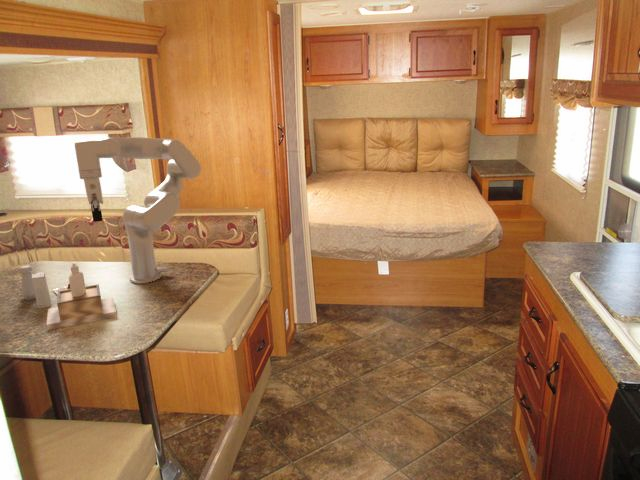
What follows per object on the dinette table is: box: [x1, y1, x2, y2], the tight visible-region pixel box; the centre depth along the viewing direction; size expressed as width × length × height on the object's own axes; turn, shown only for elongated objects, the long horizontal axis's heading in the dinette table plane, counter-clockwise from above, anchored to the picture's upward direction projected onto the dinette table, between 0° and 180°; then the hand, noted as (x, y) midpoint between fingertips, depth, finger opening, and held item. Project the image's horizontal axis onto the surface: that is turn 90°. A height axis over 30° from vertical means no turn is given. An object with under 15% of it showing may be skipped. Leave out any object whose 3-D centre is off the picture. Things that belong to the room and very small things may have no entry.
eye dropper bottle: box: [68, 262, 86, 297], centre depth 181 cm, size 4×6×12 cm
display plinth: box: [46, 283, 118, 331], centre depth 183 cm, size 22×14×9 cm, turn 115°
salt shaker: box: [18, 264, 36, 301], centre depth 199 cm, size 6×6×13 cm
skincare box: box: [31, 271, 52, 309], centre depth 193 cm, size 6×4×12 cm
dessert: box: [52, 281, 89, 296], centre depth 206 cm, size 12×12×5 cm
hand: (97, 218), depth 196 cm, fingers open, 9 cm apart
